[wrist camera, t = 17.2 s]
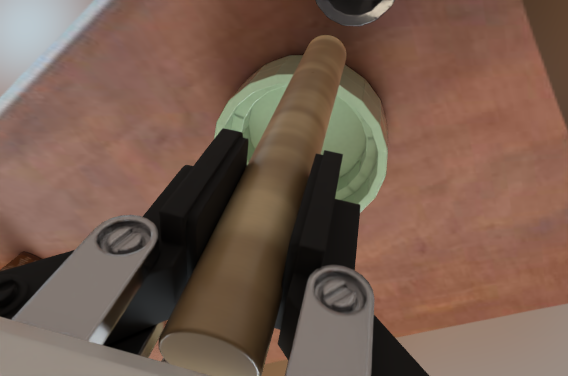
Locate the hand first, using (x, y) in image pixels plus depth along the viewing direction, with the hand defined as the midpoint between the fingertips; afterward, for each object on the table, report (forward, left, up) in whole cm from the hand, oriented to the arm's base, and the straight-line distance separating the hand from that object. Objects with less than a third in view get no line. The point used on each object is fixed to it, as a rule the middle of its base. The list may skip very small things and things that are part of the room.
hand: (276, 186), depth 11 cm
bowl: (+9, -7, -27) cm, 29 cm away
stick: (-1, 0, -10) cm, 10 cm away
